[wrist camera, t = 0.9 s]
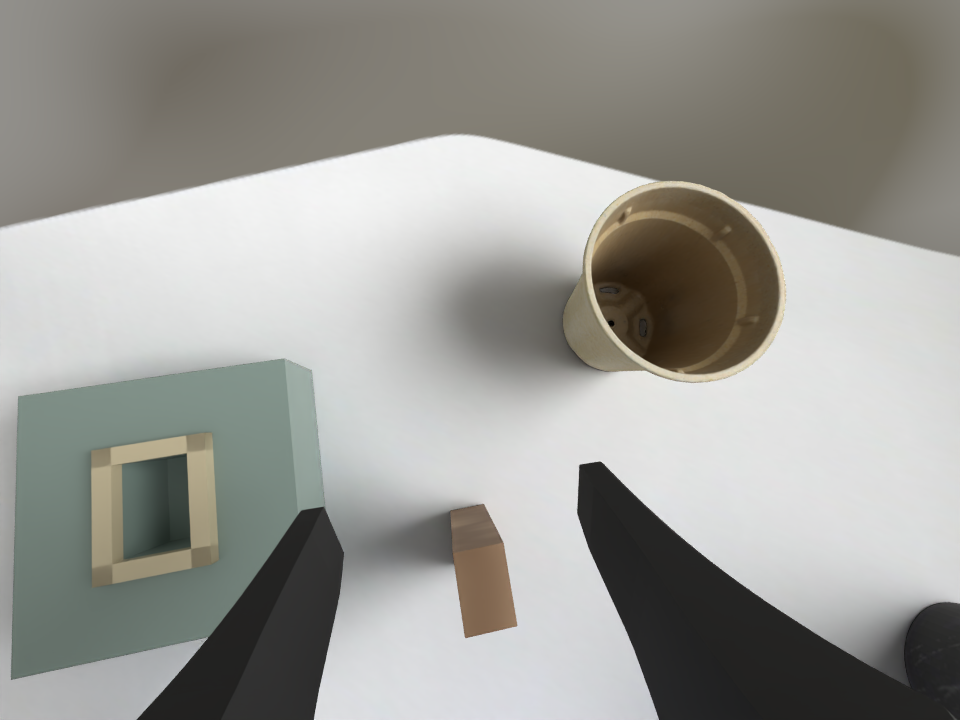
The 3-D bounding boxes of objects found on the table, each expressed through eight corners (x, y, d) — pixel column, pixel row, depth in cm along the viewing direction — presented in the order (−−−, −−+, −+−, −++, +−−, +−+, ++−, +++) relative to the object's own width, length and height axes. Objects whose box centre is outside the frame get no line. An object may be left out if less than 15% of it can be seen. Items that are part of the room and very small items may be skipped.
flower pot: (698, 369, 26) (824, 340, 17) (570, 419, 24) (637, 413, 16) (642, 243, 27) (732, 158, 18) (517, 283, 26) (552, 211, 17)
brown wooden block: (483, 504, 23) (503, 542, 15) (492, 557, 22) (517, 625, 15) (450, 510, 23) (452, 553, 15) (458, 564, 22) (465, 638, 14)
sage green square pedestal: (332, 581, 22) (302, 622, 17) (95, 631, 20) (-6, 689, 16) (311, 370, 23) (279, 356, 19) (94, 402, 22) (3, 395, 18)
